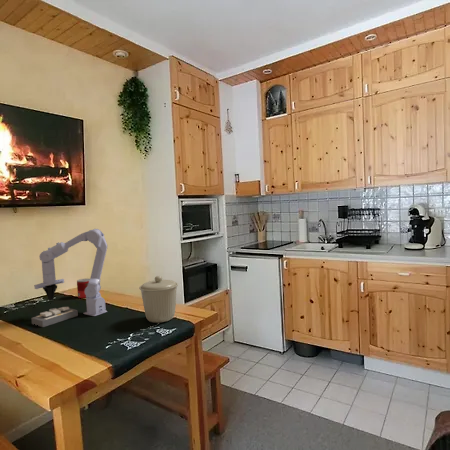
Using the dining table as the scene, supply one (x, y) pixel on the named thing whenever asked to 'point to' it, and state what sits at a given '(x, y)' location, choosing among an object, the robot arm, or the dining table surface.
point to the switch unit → (54, 318)
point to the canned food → (82, 287)
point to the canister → (159, 299)
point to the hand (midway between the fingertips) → (51, 299)
